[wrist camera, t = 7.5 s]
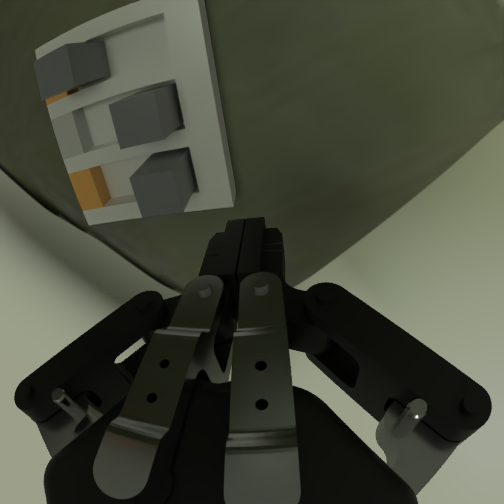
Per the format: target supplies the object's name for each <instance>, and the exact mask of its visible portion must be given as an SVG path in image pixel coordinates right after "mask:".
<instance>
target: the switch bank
mask: <svg viewBox="0 0 504 504" xmlns="http://www.w3.org/2000/svg"><path fill="white" fill-rule="evenodd" d="M95 41H104V45H105V50H106V56H107V61H108V65H109V70H110V75H111V76H108V77H105V78H102V79H100V80H97V81H95V82H92V83H89V84H87V85H84V86H82V87H80V88H76V89H73V90H70V91H68V92H65V93H62V94H59V95H56V96H54V97H51V98H48V99H46V104H47V107H48V111H49V115H50V118H51V122H52V125H53V129H54V132H55V136H56V139H57V142H58V145H59V148H60V151H61V154H62V157H63V160H64V163H65V166H66V169H67V172H68V175H69V177H70V180H71V183H72V185H73V188H74V191H75V193H76V196H77V198H78V201H79V203H80V206H81V208H82V211H83V213H84V215H85V218H86V220H87V222H88V225H94V224H100V223H107V222H114V221H121V220H128V219H135V218H142V215H141V213H140V210H139V207H138V204H137V201H136V198H135V195H134V192H133V189H132V186H131V183H130V179H129V178H130V177H131V176H132V175H133V173H134V172H135V171H136V170H137V169H138V168H139V167H140V166H141V165H142V164H143V163H144V162H145V161H146V160H147V159H148V158H149V157H150V156H151V155H152V154H153V153H157V152H162V151H167V150H173V149H178V148H184V147H189V148H190V153H191V157H192V162H193V166H194V171H195V175H196V179H197V185H196V187H195V189H194V191H193V193H192V195H191V197H190V199H189V202H188V204H187V206H186V208H185V210H184V212H190V211H199V210H208V209H217V208H227V207H234V202H235V197H236V187H235V181H234V175H233V169H232V163H231V157H230V152H229V146H228V140H227V134H226V128H225V122H224V116H223V110H222V104H221V98H220V92H219V86H218V80H217V74H216V68H215V62H214V56H213V50H212V44H211V38H210V32H209V26H208V19H207V13H206V7H205V1H204V0H140V1H137V2H135V3H132V4H129V5H126V6H124V7H121V8H118V9H116V10H113V11H111V12H108V13H106V14H104V15H101V16H99V17H97V18H94V19H92V20H90V21H88V22H86V23H84V24H82V25H79V26H77V27H75V28H73V29H71V30H70V31H68V32H66V33H64V34H62V35H60V36H58V37H56V38H55V39H53V40H51V41H49V42H48V43H46V44H44V45H42V46H41V47H39V48H38V49H36V50H35V53H36V58H37V60H38V59H39V58H41V57H43V56H45V55H46V54H48V53H50V52H52V51H53V50H55V49H57V48H59V47H61V46H63V45H65V44H68V43H80V42H95ZM172 83H176V85H177V90H178V96H179V101H180V105H181V110H182V115H183V120H184V122H183V123H182V124H181V125H180V126H179V127H177V128H176V129H175V130H174V131H173V132H172V133H171V134H170V135H169V136H168V137H167V138H166V139H165V140H160V141H156V142H151V143H146V144H142V145H137V146H133V147H129V148H125V149H121V150H120V146H119V143H118V139H117V136H116V132H115V128H114V125H113V121H112V117H111V113H110V109H109V104H111V103H113V102H116V101H118V100H121V99H123V98H125V97H128V96H130V95H133V94H135V93H138V92H141V91H145V90H148V89H152V88H156V87H160V86H164V85H168V84H172Z"/></svg>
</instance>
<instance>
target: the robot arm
mask: <svg viewBox="0 0 504 504" xmlns="http://www.w3.org/2000/svg"><path fill="white" fill-rule="evenodd" d="M237 323H238V331H236V329H237ZM141 338H143V340H144V342H145V343H146V344H144V345H143V346H142V347H141V348H139V349H138V350H137V351H135V352H134V353H133V354H132V355H130V356H129V357H128V358H126V359H125V360H124V361H122V362H121V363H117V364H116V363H114V362H115V359H116V358H117V356H119V355H120V354H121V353H123V352H124V351H125V350H126V349H128V348H129V347H130V346H131V345H133V344H134V343H135V342H137V341H138V340H139V339H141ZM289 349H292V350H296V351H300V352H305V353H306V356H307V357H308V359H309V360H310V361H311V362H313V363H314V364H315V365H316V366H317V367H318V368H319V369H320V370H321V371H322V372H323V373H324V374H325V375H327V376H328V377H329V378H330V379H331V380H332V381H333V382H334V383H335V384H336V385H338V386H339V387H340V388H341V389H342V390H343V391H345V392H346V394H348V395H349V396H350V397H351V398H352V399H353V400H354V401H356V402H357V403H358V404H359V405H360V406H361V407H362V408H363V409H365V410H366V411H367V412H368V413H369V414H370V415H371V416H373V417H374V418H375V419H376V420H377V421H378V422H379V425H378V427H377V429H376V440H377V443H378V445H379V446H380V447H381V448H382V450H383V451H384V453H385V455H386V458H387V464H386V463H385V462H384V461H383V460H382V459H381V458H380V457H379V456H377V454H376V453H375V452H373V451H372V450H371V449H370V448H369V447H368V446H367V445H366V444H365V443H364V442H363V441H362V440H361V439H360V438H359V437H358V436H357V435H356V434H355V433H354V432H353V431H352V430H351V429H350V428H349V427H348V426H347V425H346V424H345V423H344V422H343V421H342V420H341V419H340V418H339V417H338V416H337V415H336V414H335V413H334V412H333V411H332V410H331V409H330V408H329V407H328V406H327V404H326V403H324V402H323V401H322V400H321V399H320V398H318V397H317V396H316V395H314V394H312V393H311V392H309V391H307V390H304V389H302V388H299V387H296V386H292V376H291V366H290V356H289ZM231 365H232V374H231V381H228V380H229V374H230V369H231ZM14 400H15V404H16V406H17V407H18V408H19V409H21V410H22V411H23V412H24V413H25V414H27V415H28V416H29V417H30V418H31V419H32V420H33V421H34V422H36V424H37V425H38V428H39V431H40V433H41V435H42V438H43V440H44V442H45V444H46V446H47V449H48V451H49V453H50V455H51V457H52V459H51V460H50V461H49V463H48V465H47V467H46V471H45V474H44V489H45V494H46V500H47V504H418V501H417V498H416V495H417V494H418V493H419V492H420V491H421V489H422V488H423V487H424V486H425V485H426V484H427V483H428V482H429V481H430V479H431V478H432V477H433V476H434V475H435V474H436V472H437V471H438V470H439V469H440V468H441V466H442V465H443V464H444V463H445V461H446V460H447V459H448V457H449V456H450V455H451V454H452V452H453V451H454V450H455V448H456V447H457V446H458V445H459V444H460V443H462V442H463V441H464V440H466V439H467V438H468V437H469V436H471V435H472V434H473V433H474V432H476V431H477V430H478V429H479V428H480V427H481V426H483V425H484V424H485V423H486V421H487V420H488V418H489V416H490V413H491V409H492V405H491V399H490V396H489V394H488V393H487V391H486V390H485V389H484V388H483V387H482V386H480V385H479V384H478V383H476V382H475V381H473V380H472V379H471V378H470V377H468V376H467V375H466V374H464V373H463V372H461V371H460V370H459V369H457V368H456V367H455V366H453V365H452V364H450V363H449V362H448V361H446V360H445V359H444V358H442V357H441V356H439V355H438V354H436V353H435V352H434V351H432V350H431V349H430V348H428V347H427V346H426V345H424V344H423V343H421V342H420V341H418V340H417V339H416V338H414V337H413V336H411V335H410V334H409V333H407V332H406V331H404V330H403V329H402V328H400V327H399V326H397V325H396V324H394V323H393V322H392V321H390V320H389V319H387V318H386V317H384V316H383V315H382V314H380V313H379V312H377V311H376V310H374V309H373V308H371V307H370V306H369V305H367V304H366V303H364V302H363V301H362V300H360V299H359V298H357V297H356V296H354V295H353V294H351V293H350V292H348V291H347V290H346V289H344V288H343V287H341V286H339V285H337V284H333V283H327V282H326V283H318V284H315V285H313V286H311V287H310V288H309V289H308V290H307V291H302V290H298V289H295V288H292V287H291V286H289V285H288V284H287V283H286V282H285V257H284V247H283V237H282V234H281V232H280V231H279V230H278V228H268V229H266V226H265V219H264V217H258V218H247V219H236V220H228V222H227V225H226V229H225V232H221V233H216V234H215V235H214V236H213V237H212V238H211V240H210V241H209V244H208V247H207V250H206V254H205V257H204V260H203V263H202V266H201V269H200V273H199V276H198V277H197V278H195V279H193V280H192V281H190V282H189V283H188V284H187V285H186V287H185V289H184V292H183V294H182V295H179V296H176V297H172V298H169V299H165V300H163V298H162V296H161V294H160V293H158V292H156V291H145V292H142V293H140V294H138V295H136V296H134V297H133V298H132V299H131V300H129V301H128V302H126V303H125V304H123V305H122V306H121V307H119V308H118V309H116V310H115V311H114V312H112V313H111V314H110V315H108V316H107V317H106V318H104V319H103V320H102V321H100V322H99V323H97V324H96V325H95V326H94V327H92V328H91V329H89V330H88V331H87V332H85V333H84V334H83V335H81V336H80V337H79V338H77V339H76V340H75V341H73V342H72V343H71V344H69V345H68V346H67V347H65V348H64V349H63V350H61V351H60V352H59V353H57V354H56V355H55V356H53V357H52V358H51V359H50V360H48V361H47V362H46V363H44V364H43V365H42V366H40V367H39V368H38V369H37V370H35V371H34V372H33V373H31V374H30V375H29V376H28V377H26V378H25V379H24V380H23V381H22V382H21V383H20V384H19V385H18V387H17V389H16V391H15V396H14Z"/></svg>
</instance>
